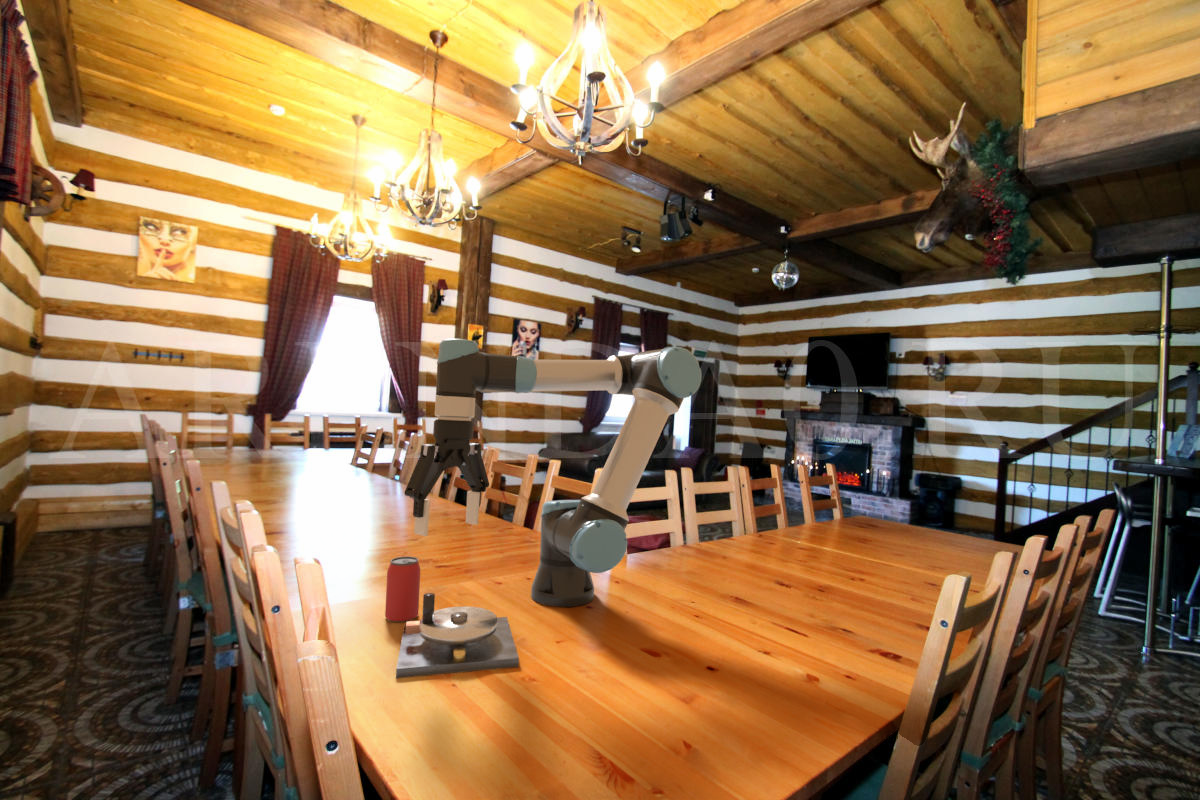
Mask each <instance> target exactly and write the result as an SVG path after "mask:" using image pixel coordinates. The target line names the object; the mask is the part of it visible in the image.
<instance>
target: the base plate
mask: <svg viewBox="0 0 1200 800" xmlns="http://www.w3.org/2000/svg"><path fill="white" fill-rule="evenodd" d="M519 659H520V657H519V654H518V651H517V648H516V643H515V640H514V636H513V634H512V630H511V627H510V623H509V620H508V617H507V616H501V617H500V616H498V617H497V629H496V631H495V632H494V633H493V634H492V635H491V636H489V637H488V638H485V639H483V640H480V641H477V642H473V643H468V644H459V645H445V644H437V643H433V642H429V641H427V640H425V639H423V638H422V637H421V636H420V634H419V633H418V634H406V623H404V626H403V631H402V637H401V642H400V647H399V653H398V658H397V664H396V670H395V679H400V678H401V679H402V678H411V677H412V678H413V677H424V676H431V675H432V676H434V675H444V674H455V673H456V674H457V673H465V672H475V671H488V670H498V669H507V668H508V669H510V668H519V662H520V661H519Z"/></svg>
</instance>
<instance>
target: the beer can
mask: <svg viewBox="0 0 1200 800" xmlns="http://www.w3.org/2000/svg"><path fill="white" fill-rule="evenodd" d="M389 561H390V564H389V566H388V568H387V573H386V593H385V611H384V615H385V618H386V620H387V621H389V622H392V623H405V621H406V622H409V620H410V621H413V620H414V619H416V618H417V617H418V616H419V610H420V609H419V608H420V607H419V605H420V587H421V586H420V583H421V567H420V566H421V565H420V563H419V559H418V557H415V556H399V557H395V558H392V559H391V560H389Z"/></svg>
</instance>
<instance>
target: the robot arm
mask: <svg viewBox="0 0 1200 800" xmlns="http://www.w3.org/2000/svg"><path fill="white" fill-rule="evenodd" d="M436 364H437V367H436V386H435V388H436V389H435V391H436V392H435V403H434V416H435V417H437V419H434V421H433V429H432V430H433V431H432V436H433V438H434V439H435V444H428V443H426V444H425V443H422V444H421V446H420V453H419V457H418V459H417V463H415V466H414V469H413V471H412V474H411V476H410V477H409V480H408V482H407V486H406V487H405V490H404V496H406V497H409V498H410V499H413V507H412V508H413V509H412V516H413V517H414V529H413V534H414V535H418V536H422V537H428V535H429V522H430V521H429V519H430V504H431V500H430V499H428V496H429V494H430V493H431V491H432V490H433V488H434V486H435V485H436V483H437V481H438V480H439V478H441V476H442V474H443V472H444V471H447V469H448V468H450V469H451V468H454V467H455V468H456V467H457V468H458V469H459V471H460V472H461V474H462V476H463V477H464V479H465V481H466V484H467V485H468V487H469V489H470V490H468V491H467V492H466V493H467V494H466V506H465V507H466V510H465V524H471V525H473V526H474V525H476V526H477V525H478V524H479V513H480V507H481V500H482V492H483V493H485V492H486V490H487V488H489V487H490V481H489V478H488V475H487V471H486V470H487V469H486V467H485V463H484V460H483V456H482V445H481V443H477V442H476V443H475V442H470V441H471V440H473V438H474V427H475V423H474V421H472V419H474V418H475V416H476V415H475V413H476V412H475V411H476V393H477V392H480V393H481V394H493V393H497V394H498V393H513V394H514V393H515V394H521V393H522V394H529V393H531V392H533V393H534V392H536V393H537V392H579V391H580V392H581V391H583V392H584V391H586V392H588V391H590V392H591V391H607V392H608V393H609V394H610V395H626V396H633V397H634V402H633V404H632V406H631V408H630V410H629V412H628V415H627V417H626V419H625V421H624V423H623V425H622V428H621V430H620V432H619V434H618V436H617V438H616V440H615V443H614V445H613V446H612V449H611V451H610V453H609V455H608V457H607V459H606V462H605V464H604V466H603V468H602V470H601V471H600V474H599V476H598V479H597V480H596V483H595V485H594V486H593V490H592V491H591V493H590V494H587V495H585V496H583V497H581V499H558V500H548V501H545V502H544V503H543V505H542V507H541V508H542V509H541V514H540V518H541V520H540V522H541V523H540V551H539V552H540V553H539V557H540V558H539V563H538V564H539V565H538V567H537V570H536V573H535V576H534V579H533V581H532V584H531V589H530V591H531V593H530V596H531V597H530V598H531V599H533V601H535V602H537V603H538V604H542V605H545V606H550V607H558V608H560V607H561V608H562V607H563V608H568V607H569V608H570V607H579V606H583V605H585V604H589V603H590V602H592V601H593V600H594V598H595V585H594V581H593V578H592V574H601V573H606V572H608V571H610V570H611V571H612V569H614V568H615V567H616V566H618V565H619V563H621V561H622V560H623V558H624V556H625V554H626V552H627V548H628V539H627V533H626V532H625V531H626V528H627V526H628V523H629V521H630V519H629V516H628V514H627V509H628V507H629V505H630V504H631V503H630V502H631V500H632V499H633V496H634V494H635V491H636V490H637V486H638V485H639V483H640V480H641V479H642V476H643V473H644V472H645V469H646V467H647V465H648V463H649V460H650V458H651V456H652V454H653V451H654V449H655V447H656V445H657V442H658V440H659V438H660V436H661V433H662V431H663V429H664V427H665V425H666V423H667V422H668V421H667V420H668V419H669V417H670V415H673V414H677V413H678V412H679V410H680V408H681V406H682V403H683V401H684V399H686V398H689V397H691V396H693V395H694V394H695V393H696V392H697V391H698V390H699V388H700V385H701V383H702V369H701V368H700V363H699V360H698V359H697V357H696V356H695V355H694V354H693V352H691V351H690V350H689V349H687V348H683V347H681V346H676V347H675V346H666V347H664V348H660V349H653V350H652V349H651V350H645V351H640V352H636V353H631V354H625V355H611V356H609V357H608V358H607V359H533V358H531V357H526V356H521V355H507V354H497V353H488V352H487V353H486V352H483V351H480V349H479V343H478V342H477V341H475V340H470V339H465V338H463V339H462V338H446V339H443V340H441V341H440V342H439V347H438V356H437V361H436ZM591 573H592V574H591Z"/></svg>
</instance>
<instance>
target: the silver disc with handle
mask: <svg viewBox="0 0 1200 800" xmlns="http://www.w3.org/2000/svg"><path fill="white" fill-rule="evenodd" d="M435 600H436V594H435V593H433V592H426V593H424V594H423V598H422V618H420V620H410V621H406V623H405V624H406V634H418V633H419V634H420V636H421V637H422V638H423V639H425V640H427V641H429V642H433V643H437V644H445V645H459V644H468V643H473V642H477V641H480V640H483V639H485V638H488V637H489V636H491V635H492V634H493V633H494V632H495V631H496V629H497V614H495V612H493V611H491V610H489V609H487V608H483V607H476V606H451V607H444V608H441V609H436V610H435V603H436V601H435Z"/></svg>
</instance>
